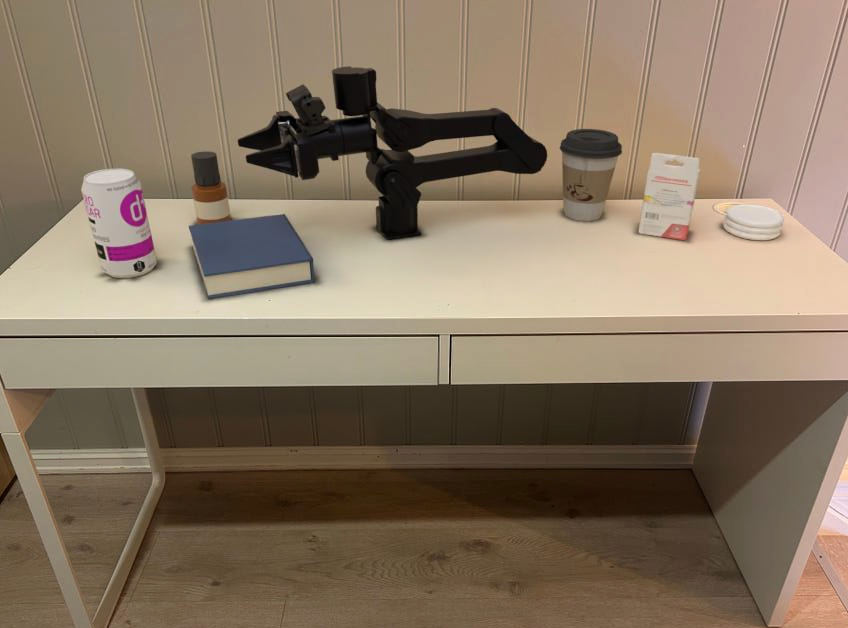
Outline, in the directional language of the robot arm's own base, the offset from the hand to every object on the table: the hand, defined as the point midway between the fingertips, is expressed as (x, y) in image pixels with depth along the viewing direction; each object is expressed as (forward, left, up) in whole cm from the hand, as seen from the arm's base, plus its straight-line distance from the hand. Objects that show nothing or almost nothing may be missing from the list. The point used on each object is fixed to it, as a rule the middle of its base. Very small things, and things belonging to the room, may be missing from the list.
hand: (241, 150), depth 114 cm
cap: (+5, -14, -9) cm, 17 cm away
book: (+2, +6, -17) cm, 18 cm away
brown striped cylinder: (+5, -14, -17) cm, 22 cm away
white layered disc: (-86, +23, -17) cm, 91 cm away
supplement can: (+20, +1, -17) cm, 26 cm away
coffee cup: (-61, +5, -17) cm, 64 cm away
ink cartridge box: (-70, +18, -17) cm, 74 cm away
